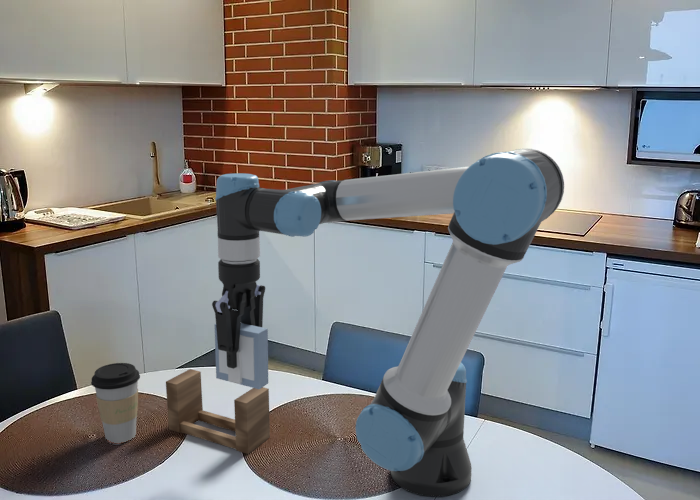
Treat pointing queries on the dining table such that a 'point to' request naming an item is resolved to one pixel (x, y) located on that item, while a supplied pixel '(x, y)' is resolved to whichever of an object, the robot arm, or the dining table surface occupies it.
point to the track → (189, 410)
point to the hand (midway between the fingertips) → (241, 377)
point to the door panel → (247, 356)
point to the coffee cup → (117, 400)
